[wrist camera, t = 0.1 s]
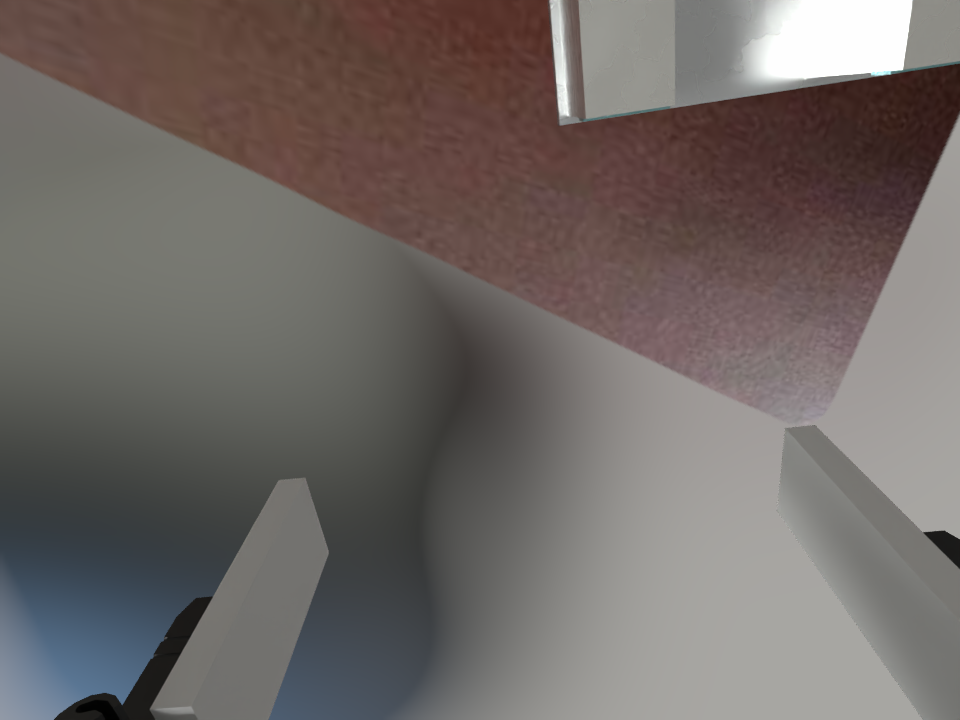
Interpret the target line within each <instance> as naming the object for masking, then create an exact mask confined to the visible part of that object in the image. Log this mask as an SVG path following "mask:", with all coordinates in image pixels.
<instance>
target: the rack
mask: <svg viewBox="0 0 960 720" xmlns="http://www.w3.org/2000/svg"><path fill="white" fill-rule="evenodd" d="M548 11H549V23H550V35H551V47H552V60H553V72H554V84H555V96H556V108H557V121H558V125H566V124H572V123H579V122H585V121H592V120H598V119H605V118H611V117H617V116H624V115H630V114H637V113H643V112H650V111H656V110H663V109H669V108H676V107H682V106H689V105H695V104H701V103H708V102H714V101H721V100H727V99H734V98H740V97H747V96H753V95H760V94H766V93H772V92H779V91H785V90H792V89H798V88H805V87H811V86H818V85H824V84H831V83H837V82H844V81H850V80H856V79H863V78H869V77H876V76H882V75H889V74H895V73H901V72H907V71H914V70H920V69H927V68H933V67H940V66H946V65H952V64H959V63H960V0H548Z"/></svg>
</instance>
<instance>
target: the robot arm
mask: <svg viewBox="0 0 960 720" xmlns="http://www.w3.org/2000/svg"><path fill="white" fill-rule="evenodd" d="M777 512H778V513H779V515H780V516H781V518H782V519H783V520H784V522H785V523H786V525H787V526H788V528H789V529H790V530H791V532H792V533H793V535H794V536H795V538H796V539H797V540H798V542H799V543H800V545H801V546H802V548H803V549H804V550H805V552H806V553H807V555H808V556H809V558H810V559H811V560H812V562H813V563H814V565H815V566H816V568H817V569H818V570H819V572H820V573H821V575H822V576H823V578H824V579H825V580H826V582H827V583H828V585H829V586H830V588H831V589H832V591H833V592H834V593H835V595H836V596H837V598H838V599H839V601H840V602H841V603H842V605H843V606H844V608H845V609H846V611H847V612H848V613H849V615H850V616H851V618H852V619H853V620H854V622H855V623H856V625H857V626H858V628H859V629H860V631H861V632H862V633H863V635H864V636H865V638H866V639H867V641H868V642H869V643H870V645H871V646H872V648H873V649H874V650H875V652H876V653H877V655H878V656H879V658H880V659H881V660H882V662H883V663H884V665H885V666H886V668H887V669H888V670H889V672H890V673H891V675H892V676H893V678H894V679H895V681H896V682H897V683H898V685H899V686H900V688H901V689H902V691H903V692H904V693H905V695H906V696H907V698H908V699H909V701H910V702H911V703H912V705H913V706H914V708H915V709H916V711H917V712H918V714H919V715H920V716H921V718H922V719H923V720H960V539H958V538H956V537H955V536H953V535H951V534H949V533H948V532H946V531H934V532H922V531H921V530H920V529H919V528H918V527H917V526H916V525H915V524H914V523H913V522H912V521H911V520H910V519H909V518H908V517H907V516H906V515H905V514H904V513H902V511H901V510H900V509H899V508H898V507H896V505H895V504H894V503H893V502H892V501H891V500H890V499H889V498H888V497H887V496H886V495H885V494H884V493H883V492H882V491H881V490H880V489H879V488H877V486H876V485H875V484H874V483H873V482H871V480H870V479H869V478H868V477H867V476H865V474H863V472H861V470H859V469H858V467H857V466H856V465H855V464H853V462H851V461H850V459H848V458H847V457H846V456H845V455H844V454H843V453H842V452H841V451H840V450H839V449H838V448H837V447H836V446H835V445H834V444H833V443H832V442H831V441H830V440H829V439H828V438H827V437H826V436H825V435H824V434H823V433H822V432H821V431H820V430H819V429H818V428H817V427H816V426H815V425H812V426H802V427H792V428H785V434H784V445H783V456H782V464H781V474H780V484H779V494H778V504H777ZM328 553H329V551H328V548H327V545H326V542H325V539H324V536H323V533H322V529H321V526H320V523H319V520H318V517H317V514H316V511H315V507H314V504H313V501H312V498H311V495H310V492H309V488H308V486H307V482H306V479H305V478H296V479H287V480H279V481H278V483H277V484H276V486H275V488H274V490H273V491H272V493H271V495H270V497H269V499H268V500H267V502H266V504H265V506H264V508H263V509H262V511H261V513H260V515H259V516H258V518H257V520H256V522H255V523H254V525H253V527H252V529H251V531H250V532H249V534H248V536H247V538H246V540H245V541H244V543H243V545H242V547H241V548H240V550H239V552H238V554H237V555H236V557H235V559H234V561H233V563H232V564H231V566H230V568H229V570H228V571H227V573H226V575H225V577H224V579H223V580H222V582H221V584H220V586H219V587H218V589H217V591H216V593H215V594H214V596H213V597H202V598H196V599H195V600H194V601H193V602H191V603H190V605H188V606H187V607H186V608H185V609H184V610H183V611H182V612H181V613H180V614H179V615H178V616H177V617H176V619H175V620H174V622H173V624H172V625H171V627H170V629H169V630H168V632H167V633H166V635H165V637H164V641H163V642H161V643H160V645H159V647H158V648H157V650H156V651H155V653H154V657H153V659H151V660H150V661H149V663H148V664H147V666H146V668H145V669H144V671H143V673H142V674H141V676H140V677H139V679H138V681H137V682H136V684H135V686H134V687H133V689H132V691H131V692H130V694H129V695H128V697H127V699H126V700H125V702H124V704H123V705H121V703H120V702H119V700H118V699H117V697H116V696H115V695H111V694H107V693H102V694H97V695H91V696H89V697H86V698H84V699H82V700H80V701H78V702H76V703H74V704H73V705H72V706H70V707H68V708H67V709H66V710H64V711H63V712H62V713H60V714H59V715H58V716H57V717H56V718H55V719H54V720H268V719H269V717H270V714H271V711H272V708H273V705H274V703H275V700H276V697H277V694H278V692H279V689H280V686H281V683H282V681H283V678H284V675H285V672H286V670H287V667H288V664H289V661H290V659H291V656H292V653H293V650H294V647H295V645H296V642H297V639H298V636H299V633H300V631H301V628H302V625H303V623H304V620H305V617H306V614H307V612H308V609H309V606H310V603H311V600H312V598H313V595H314V592H315V589H316V586H317V584H318V581H319V578H320V576H321V573H322V570H323V567H324V564H325V562H326V559H327V556H328Z"/></svg>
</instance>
